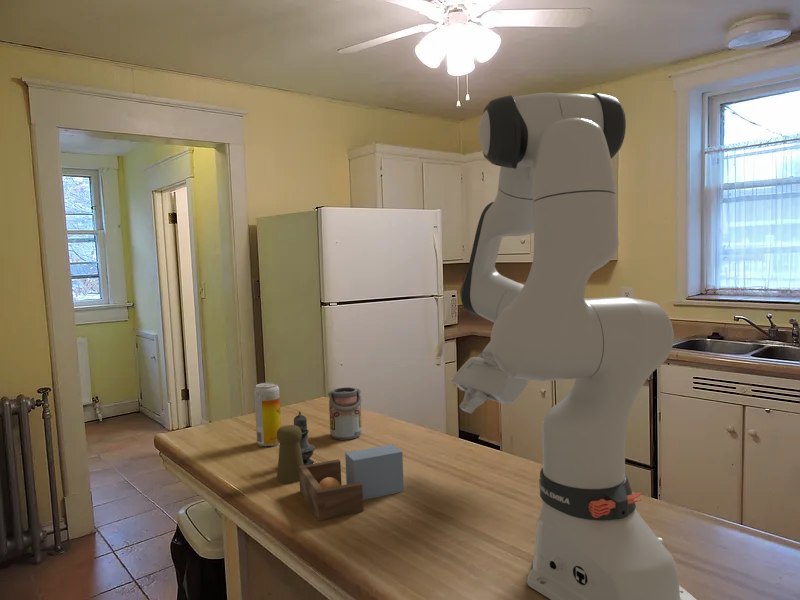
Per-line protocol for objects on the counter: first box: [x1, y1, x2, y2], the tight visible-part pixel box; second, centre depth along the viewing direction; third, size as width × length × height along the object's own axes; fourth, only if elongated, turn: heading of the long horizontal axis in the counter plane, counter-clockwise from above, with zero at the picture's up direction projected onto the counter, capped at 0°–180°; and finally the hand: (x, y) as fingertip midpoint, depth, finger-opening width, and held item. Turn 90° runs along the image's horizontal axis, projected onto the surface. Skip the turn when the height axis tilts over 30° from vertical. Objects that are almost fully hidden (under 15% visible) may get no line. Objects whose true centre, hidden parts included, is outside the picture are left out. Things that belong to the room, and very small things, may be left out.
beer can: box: [253, 382, 282, 448], centre depth 142 cm, size 6×6×15 cm
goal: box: [299, 459, 364, 521], centre depth 108 cm, size 14×8×5 cm, turn 23°
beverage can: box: [327, 386, 363, 441], centre depth 146 cm, size 9×8×12 cm
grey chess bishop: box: [293, 411, 315, 465], centre depth 128 cm, size 6×6×12 cm
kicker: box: [344, 444, 404, 501], centre depth 111 cm, size 5×10×8 cm, turn 113°
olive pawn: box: [276, 424, 304, 484], centre depth 120 cm, size 6×6×11 cm
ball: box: [319, 477, 341, 489], centre depth 108 cm, size 4×4×4 cm
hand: (464, 410), depth 117 cm, fingers closed
